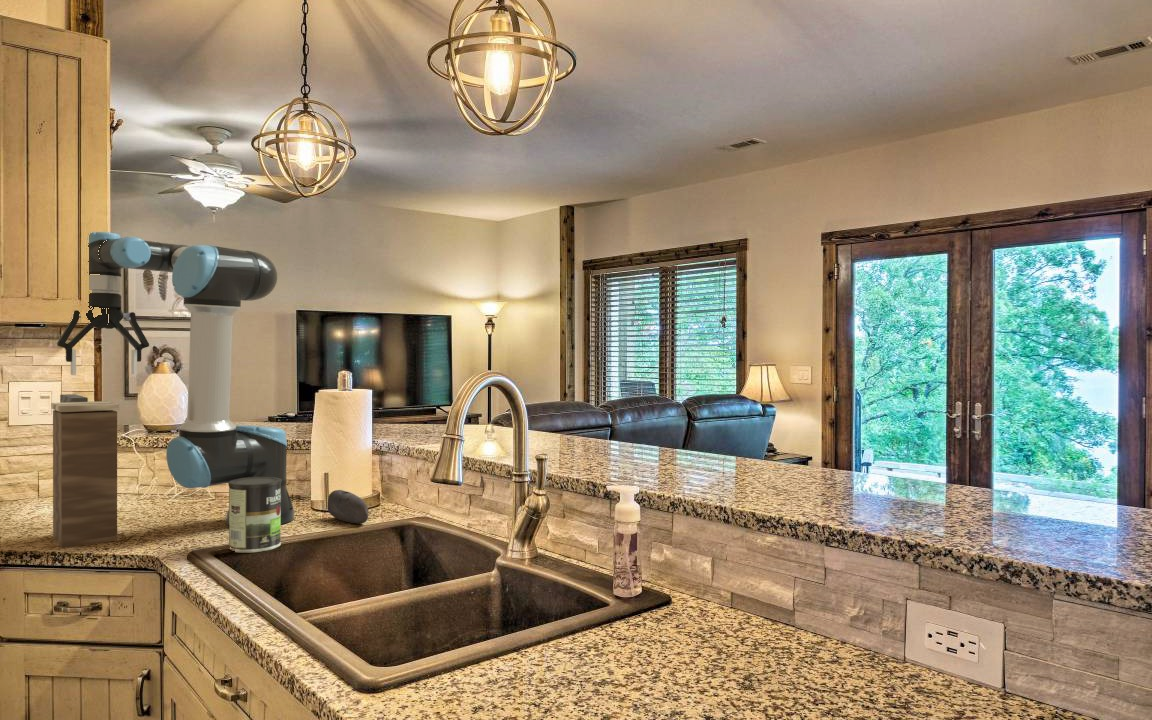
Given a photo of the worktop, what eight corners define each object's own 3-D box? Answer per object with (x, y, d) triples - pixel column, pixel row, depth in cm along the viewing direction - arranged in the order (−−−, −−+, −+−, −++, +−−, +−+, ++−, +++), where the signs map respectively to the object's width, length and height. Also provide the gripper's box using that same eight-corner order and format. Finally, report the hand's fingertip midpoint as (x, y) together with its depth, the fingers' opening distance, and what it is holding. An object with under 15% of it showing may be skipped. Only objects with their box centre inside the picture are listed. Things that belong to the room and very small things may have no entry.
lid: (40, 404, 177) (40, 395, 177) (93, 402, 184) (93, 393, 184) (60, 412, 156) (60, 402, 156) (119, 409, 163) (119, 400, 163)
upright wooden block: (53, 537, 166) (52, 410, 165) (105, 530, 172) (105, 408, 172) (62, 548, 157) (61, 413, 156) (117, 540, 164) (117, 411, 163)
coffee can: (288, 540, 164) (289, 476, 164) (268, 553, 154) (268, 484, 154) (242, 540, 165) (242, 475, 164) (218, 553, 154) (219, 484, 154)
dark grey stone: (375, 525, 180) (376, 496, 180) (355, 529, 176) (356, 499, 176) (344, 515, 190) (344, 487, 190) (325, 518, 186) (325, 490, 186)
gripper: (154, 296, 206) (154, 373, 207) (43, 290, 190) (44, 375, 190) (161, 294, 201) (161, 374, 201) (48, 289, 184) (48, 375, 184)
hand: (104, 374), depth 196 cm, fingers open, 13 cm apart
